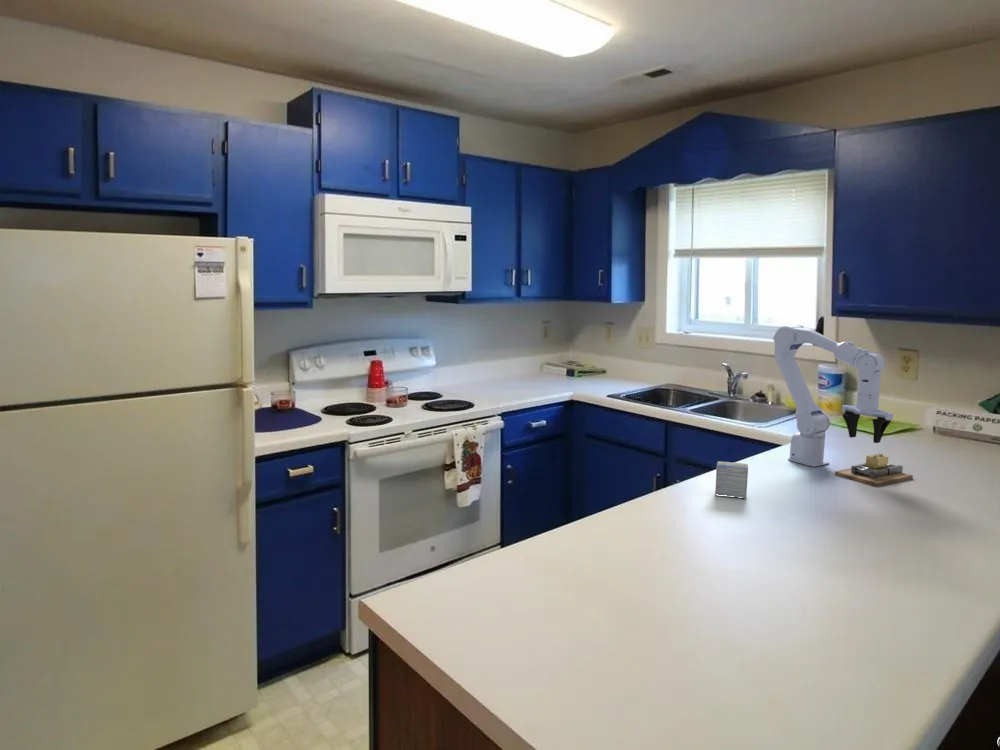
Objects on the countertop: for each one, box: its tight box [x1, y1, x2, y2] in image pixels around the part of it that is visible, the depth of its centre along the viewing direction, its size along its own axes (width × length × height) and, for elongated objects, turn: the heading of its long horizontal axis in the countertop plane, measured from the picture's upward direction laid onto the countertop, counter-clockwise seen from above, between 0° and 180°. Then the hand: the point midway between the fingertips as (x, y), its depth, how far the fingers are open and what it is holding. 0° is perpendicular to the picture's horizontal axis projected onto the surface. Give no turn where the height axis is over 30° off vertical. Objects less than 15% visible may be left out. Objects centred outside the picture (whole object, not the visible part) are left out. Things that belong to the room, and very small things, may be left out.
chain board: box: [834, 467, 914, 487], centre depth 201 cm, size 13×17×1 cm
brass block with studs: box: [865, 452, 889, 470], centre depth 201 cm, size 4×5×6 cm
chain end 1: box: [850, 462, 888, 479], centre depth 200 cm, size 7×7×2 cm
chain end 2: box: [886, 463, 904, 475], centre depth 203 cm, size 7×7×2 cm
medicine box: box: [714, 460, 749, 499], centre depth 181 cm, size 8×4×9 cm, turn 71°
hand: (864, 439), depth 202 cm, fingers open, 7 cm apart
